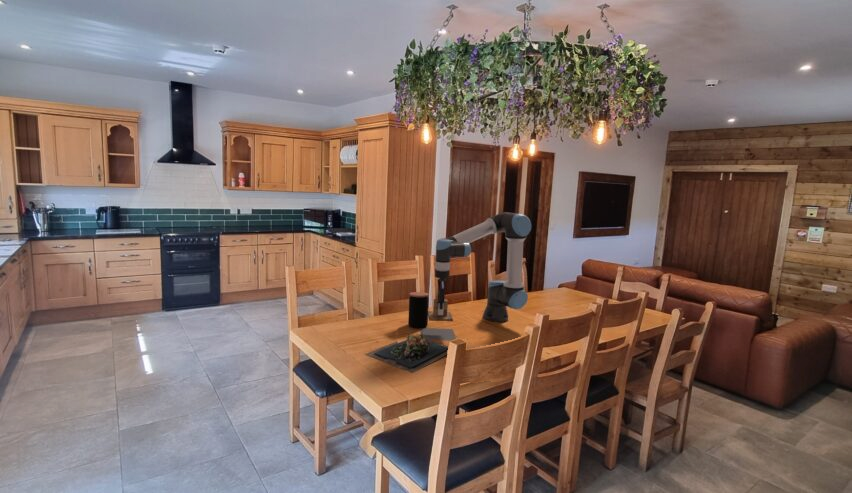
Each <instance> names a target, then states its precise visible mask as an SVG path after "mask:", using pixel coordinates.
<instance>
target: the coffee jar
mask: <svg viewBox="0 0 852 493" xmlns="http://www.w3.org/2000/svg"><path fill="white" fill-rule="evenodd" d="M408 295H409V298H408V300H409V301H408V326H409V327H410V328H411V329H420V328H427V326H428V325H429V323H428V322H429V317H428V311H429V301H430V300H429V296H430V294H429V293H428V292H424V291H422V292H421V291H414V292H413V291H412V292H409V294H408Z"/></svg>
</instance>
